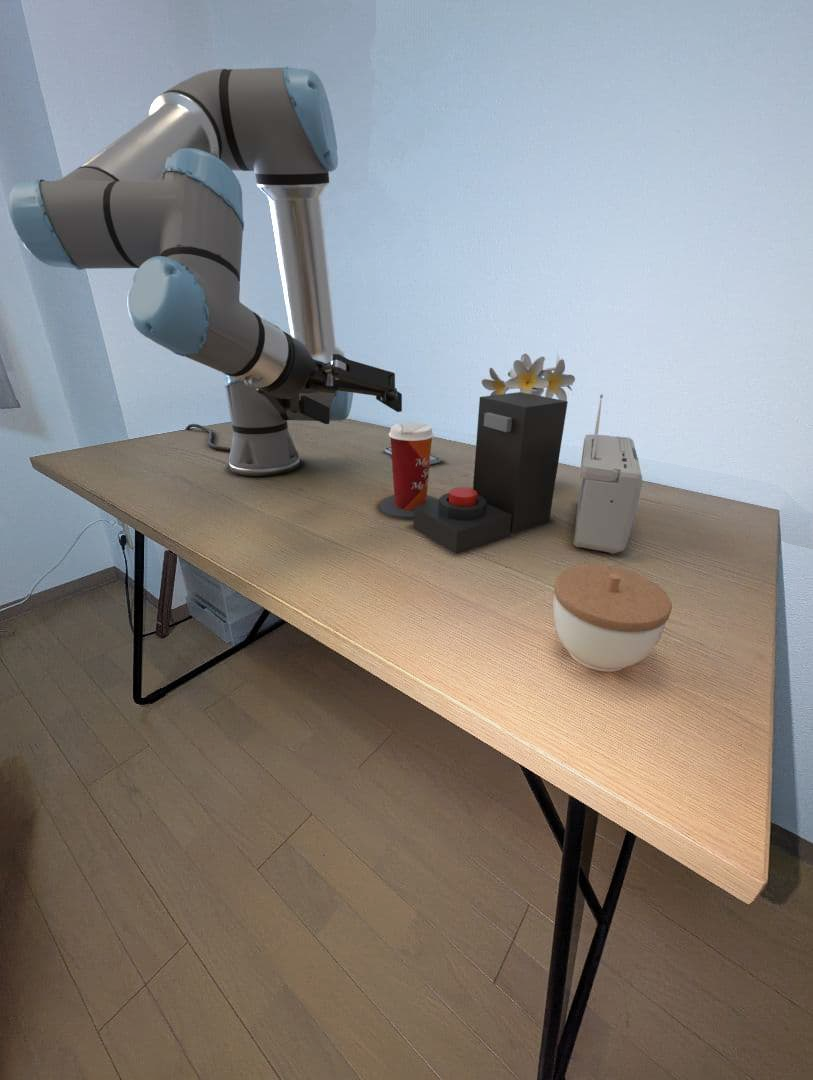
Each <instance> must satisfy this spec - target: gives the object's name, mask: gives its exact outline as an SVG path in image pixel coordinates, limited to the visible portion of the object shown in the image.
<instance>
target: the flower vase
mask: <svg viewBox="0 0 813 1080" xmlns="http://www.w3.org/2000/svg"><path fill="white" fill-rule="evenodd" d="M545 360H546V357H545V356H540V357H538V358H537V359H535V361H533V363H532V360H531V357H530V355H529V354H528V353H523V354H522V355H521V356H520V359H516V360H514V361H513V365H512V367H511V368H510V370H509V371H508V372H507V376H508V377H509V379H508V380H506V381H504V380H502V379H501V378H500V377H499V375H498V374H497V373H496V371H495V369H494V368H493V367H490V368H489V372H488V373H489V376H490V379H489V378H488V379H487V378H483V379H482V380H481V384H482V386H483V388H484V389H486V390H487V391H492V392H491V393H490V394H489V396H492V395H500V394H507V393H506V392H508V391H509V390H516V389H519V392H522V393H527V394H532V395H538V396H543V394H544V392H545V394H544V397H548V398H553V397H554V395H555V396H556V398H557V399H559V400H564V401H568V395H567V392H566V390H565V389H564V388H567V389H569V391H571V392H572V391H573V388H571V386H574V383H575V381H576V377H575V376H574V375H573V374H565V371H566V363H565V359H564V358H563V357H562V358H560V356H559V353H558V352H557V354H556V363H555V367H548V368H545V369H544V363H545ZM545 388H546V389H545Z"/></svg>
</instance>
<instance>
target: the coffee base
mask: <svg viewBox="0 0 813 1080" xmlns="http://www.w3.org/2000/svg"><path fill="white" fill-rule="evenodd" d="M511 517H512V515H511V514H509V513H507V512H504V511H502V510H500V509H498V508H496V507H494V506H491V505H489V504H487V502H486V500H485V498H484V497H482V496H479V495H477V504H476V505H472V506H457V505H452V504H450V503H449V492H448V493H444V494H442V495H441V496H440V497H439V498H438V501H436V502H432V503H428V504H424V505H420V506H416V507H414V519H413V528H414V529H415V530H417V531H419V532H421V533H422V534H423V535H425V536H426V537H428V538H430V539H431V540H433V541H435V542H436V543H438V544H439V545H441V546H442V547H445V548H446V549H448V550H449V551H451V552H453V553H454V554H459V553H463V552H465V551H467V550H471V549H474V548H477V547H480V546H483V545H486V544H489V543H493V542H495V541H499V540H501V539H504V538H507V537H510V535H511V533H510V525H511Z"/></svg>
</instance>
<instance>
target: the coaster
mask: <svg viewBox="0 0 813 1080" xmlns="http://www.w3.org/2000/svg"><path fill="white" fill-rule="evenodd" d="M436 501H439V499H437V498H435V497H433V496H430V495H427V498H426V504H428V503H432V502H436ZM379 507H380V511H381V512H382V513H383V514H385V515H387V516H389V517H391V518H396V519H399V520H400V519H401V520H414V510H403V509H400V508H398V507H396V505H395V497H394V494H393V495H390V496H388V497H386V498H384V499H383V500H381V502H380V504H379Z"/></svg>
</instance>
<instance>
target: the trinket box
mask: <svg viewBox="0 0 813 1080" xmlns="http://www.w3.org/2000/svg"><path fill="white" fill-rule="evenodd" d="M672 609H673V605H672V601H671V598H670V596H669V594H668V593H667V592H666V591H665V590H664V589H663V588H662V587H661V586H660V585H659V584H657V583H656V582H654V581H653V580H651V579H649V578H647V577H646V576H644V575H641V574H640V573H636V572H634V571H631V570H628V569H625V568H621V567H616V566H613V565H612V566H611V565H603V564H581V565H576V566H572V567H569V568H567V569H564V570H562V572H561V573H560V574H559V575H557V577H556V579H555V583H554V595H553V603H552V618H553V619H552V620H553V627H554V630H555V634H556V636H557V637H558V640H559V641H560V644H562V646H563V647H564V649H565V650H566V651H567V652H568V654H569V655H570V657H571V658H572V659H573V660H574V661H576V662H577V663H578V664H580V665H581V666H583V667H584V668H588V669H590V670H592V671H597V672H602V673H613V672H618V671H621V670H623V669H625V668H628V667H633V666H634V665H636V664H638V663H640V662H642V661H643V660H644V659H646V658H647V657H648V656H649V655H650V654H651V653H652V652H653V650H654V648H655V647H656V645H657V644H658V643H659V641H660V639H661V637H662V634H663V632H664V629H665V626H666V623H667V621H668V620H669V618H670V615H671V613H672Z"/></svg>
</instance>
